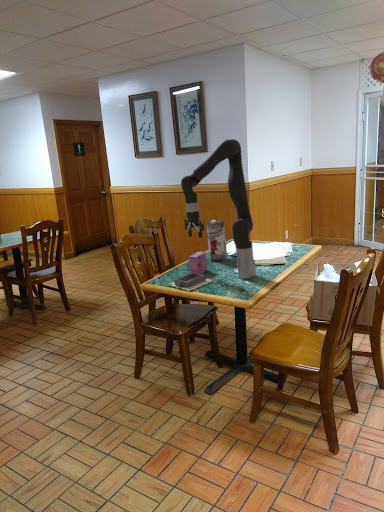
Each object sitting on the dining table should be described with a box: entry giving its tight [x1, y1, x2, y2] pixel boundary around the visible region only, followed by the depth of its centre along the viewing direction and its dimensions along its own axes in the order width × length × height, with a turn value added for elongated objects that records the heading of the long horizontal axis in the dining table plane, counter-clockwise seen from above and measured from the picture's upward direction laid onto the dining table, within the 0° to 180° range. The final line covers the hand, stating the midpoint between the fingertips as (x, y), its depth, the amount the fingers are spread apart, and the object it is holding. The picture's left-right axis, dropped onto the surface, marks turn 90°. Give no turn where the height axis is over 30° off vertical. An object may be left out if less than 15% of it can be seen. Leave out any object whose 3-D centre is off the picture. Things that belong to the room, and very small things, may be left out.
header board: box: [170, 272, 214, 290], centre depth 222 cm, size 18×18×4 cm
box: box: [188, 251, 208, 274], centre depth 239 cm, size 10×6×12 cm, turn 146°
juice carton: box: [205, 219, 228, 262], centre depth 259 cm, size 9×10×27 cm
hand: (195, 237), depth 235 cm, fingers open, 8 cm apart
